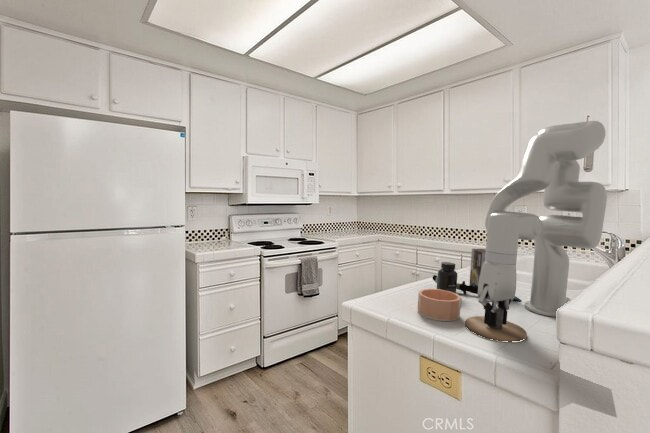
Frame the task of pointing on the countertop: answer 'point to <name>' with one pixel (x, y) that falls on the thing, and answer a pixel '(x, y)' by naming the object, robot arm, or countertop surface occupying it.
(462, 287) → the knife
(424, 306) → the bowl
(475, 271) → the coffee box
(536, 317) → the countertop surface
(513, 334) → the lid
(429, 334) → the countertop surface
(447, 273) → the supplement bottle
